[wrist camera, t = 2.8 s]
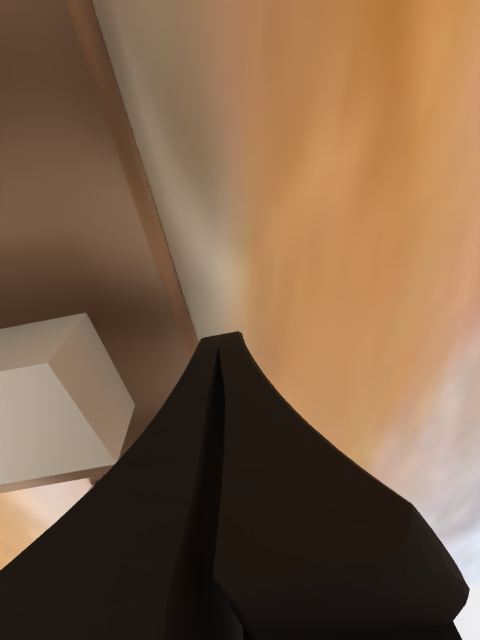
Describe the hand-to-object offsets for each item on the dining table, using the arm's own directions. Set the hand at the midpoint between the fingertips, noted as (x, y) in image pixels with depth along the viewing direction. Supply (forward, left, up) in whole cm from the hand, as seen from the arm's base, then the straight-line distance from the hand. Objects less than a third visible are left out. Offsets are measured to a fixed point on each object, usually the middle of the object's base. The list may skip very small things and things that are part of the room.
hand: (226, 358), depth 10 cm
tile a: (0, +7, -1) cm, 7 cm away
